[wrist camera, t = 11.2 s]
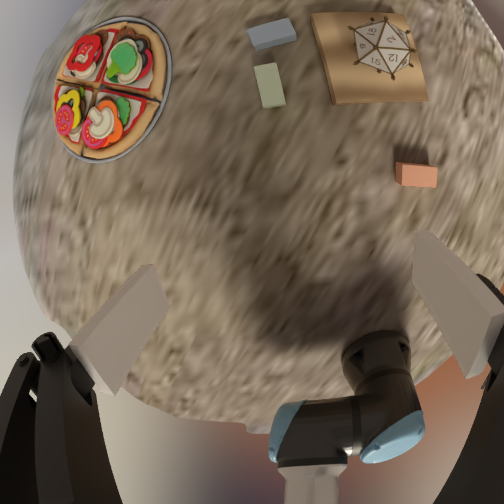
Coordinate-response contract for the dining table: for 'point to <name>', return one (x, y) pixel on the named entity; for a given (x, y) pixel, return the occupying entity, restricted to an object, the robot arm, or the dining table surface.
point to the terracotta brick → (416, 174)
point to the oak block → (363, 76)
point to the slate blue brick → (272, 34)
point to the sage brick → (269, 85)
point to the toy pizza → (111, 89)
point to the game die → (382, 46)
